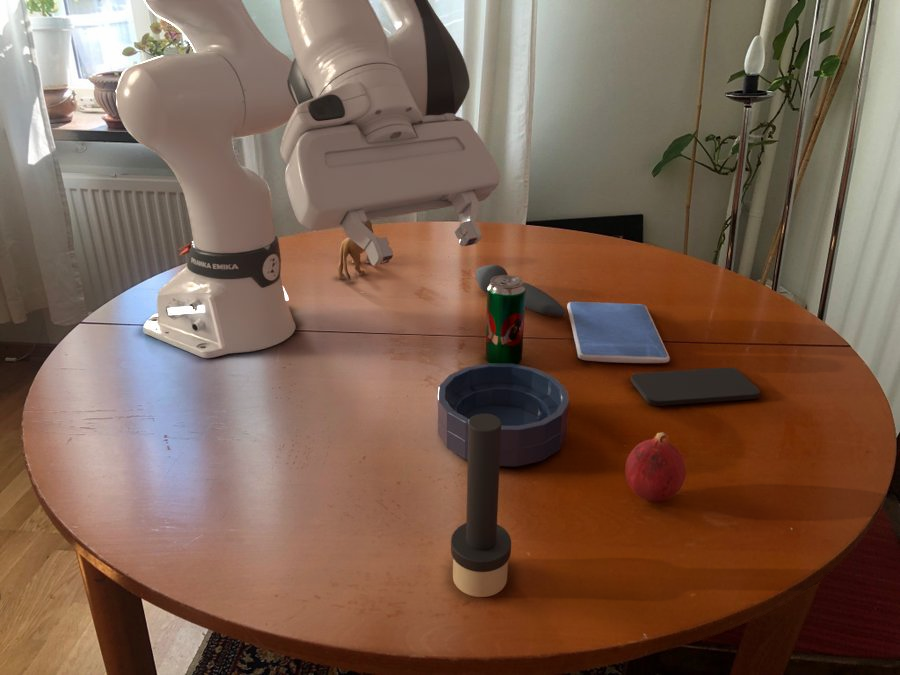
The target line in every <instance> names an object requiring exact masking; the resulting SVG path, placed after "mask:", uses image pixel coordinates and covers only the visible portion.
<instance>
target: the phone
mask: <svg viewBox="0 0 900 675" xmlns="http://www.w3.org/2000/svg"><path fill="white" fill-rule="evenodd" d="M630 382H631V384H632V385H633V387H635V389H636V390H637V392H638V393H639V394H640V395H641V397H642V398H643V399H644V400H645V401H646V403H648V404H649V405H651V406H654V407H664V406H677V405H678V406H679V405H690V404H691V405H692V404H705V403H718V402H720V403H721V402H730V401H731V402H732V401H746V400H756V399H758V398H760V395H761V390H760V389H759V388H758V387H757V386H756V385H755V384H754V383H753V382H751V381H750V380H749V379H748V378H747V376H746V375H744V373H742V372H741V371H740V370H738V369H737V368H735V367H731V366H730V367H729V366H728V367H727V366H726V367H710V368H697V369H682V370H681V369H680V370H664V371H648V372H636V373H633V374H631V378H630Z"/></svg>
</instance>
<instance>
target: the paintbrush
mask: <svg viewBox="0 0 900 675" xmlns="http://www.w3.org/2000/svg"><path fill="white" fill-rule="evenodd" d="M500 275H509V274H508V272H507V270H506V269H505V268H504V267H503V266H501V265H499V264H488V265H483V266H481V267H479V268H476V272H475V279H476V282H477V285H478V287H479V288H480V289H481V290H482V292H484V293H485V294H487V287H488V286H489V284H490V280H491V279H492V278H493V277H495V276H500ZM523 285H524V286H525V288H526V296H525V309H527V310H529V311H532V312H534V313H537V314H541V315H545V316H550V317H556V318H558V317H564V316H565V315H566V310H565V308H564V307H563V306H562V304H561V303H560V302H558V301H557V300H556V299H555V298H553V297H552V296H551V295H550V294H548V293H546V292H545V291H543V290H542V289H540V288H538V287H536V286H534V285H532V284H530V283H527V282H524V281H523Z"/></svg>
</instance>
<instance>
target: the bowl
mask: <svg viewBox="0 0 900 675" xmlns="http://www.w3.org/2000/svg"><path fill="white" fill-rule="evenodd" d="M569 412H570V397H569V392H568V390H567V388H566V387H565V386H564V385H563V384H562V383H561V382H560V381H559V380H558V379H557V378H556V377H555V376H553V375H551V374H550V373H546V372H544V371H542V370H540V369H538V368H535V367H531V366H527V365H521V364H518V365H517V364H503V363H488V362H487V363H483V364H477V365H471V366H466V367H464V368H461V369H459V370H457V371H455V372H453V373H451V374H449V375H448V376H447V377H446V378H445V379H444V380H443V381H442V382H441V383H440V385H439V386H438V394H437V435H438V437H439V438H440V439H441V440H440V441H442V443H443V444H444V446H445V447H446V448H447V450H449V451H451V452H453V453H455V454H456V455H458V456H459V457H461V458H462V459H465V460H466V461H468V422H469V419H470V418H471V417H473V416H475V415H478V414H491V415H494V416H496V417H498V418H499V419H500V421H501V443H500V466H499V467H522V466H527V465H530V464H534V463H535V464H536V463H538V462H539V463H540V462H542V461H544V460H546V459H548V458H549V457H551V456H552V455H554V454H555V453H558V451H560V449H561V448H562V446H563V444H564V442H565V440H566V438H567V434H568V433H567V432H568V422H569Z"/></svg>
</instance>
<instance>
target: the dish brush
mask: <svg viewBox="0 0 900 675" xmlns="http://www.w3.org/2000/svg"><path fill="white" fill-rule="evenodd" d="M500 443H501V421H500V419H499V418H498V417H496V416H494V415H491V414H478V415H475V416H473V417H471V418H470V419H469V422H468V460H467V474H466V516H465V517H466V518H465V519H466V520H465V523H463V524H461V525H459V526H457V527H456V528H455V530H454V531H453V532H452V534H451V537H450V553H451V557H452V580H453V583H454V584H455V586H456V588H457V589H458V590H459V591H461V592H462V593H463V594H466V595H467V596H471V597H475V598H486V597H491V596H495V595H496V594H498V593H500V592H501V591H502V590H503V589H504V588H505V587H506V584H507V582H508V572H509V569H508V567H509V560H510V558H511V553H512V539H511V536H510V534H509V532H508V531H507V530H506V529H505V528H504V527H503V526H501V525H499V524H498V511H499V510H498V507H499V490H500V489H499V487H500V486H499V485H500V467H501V466H500Z"/></svg>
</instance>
